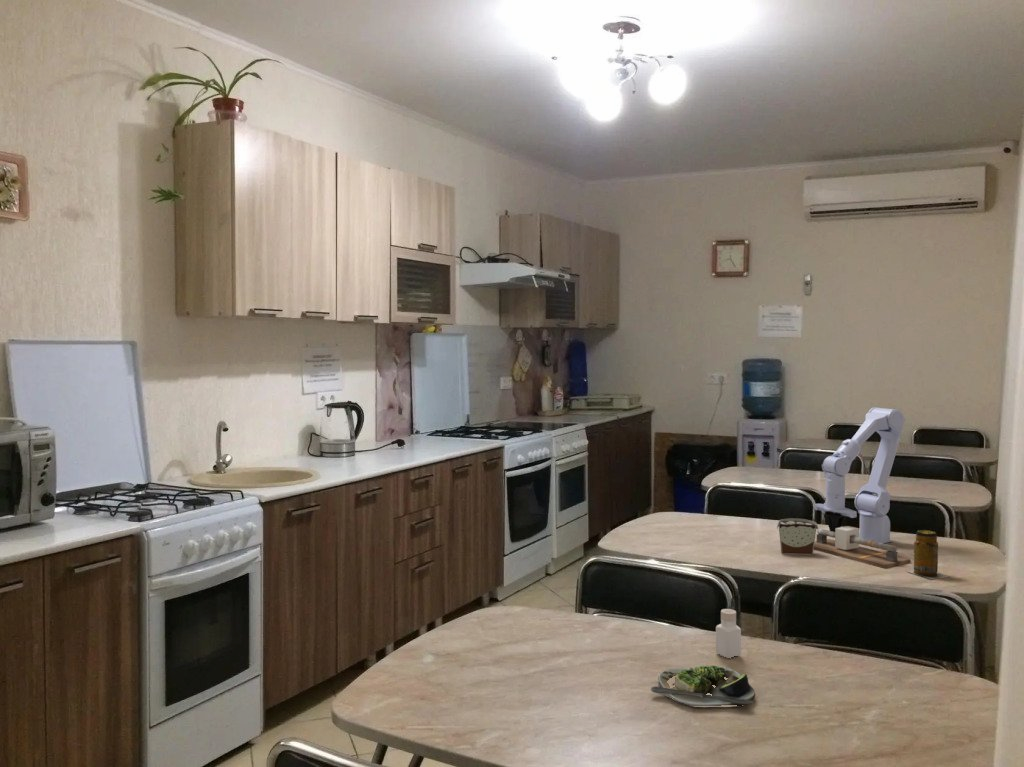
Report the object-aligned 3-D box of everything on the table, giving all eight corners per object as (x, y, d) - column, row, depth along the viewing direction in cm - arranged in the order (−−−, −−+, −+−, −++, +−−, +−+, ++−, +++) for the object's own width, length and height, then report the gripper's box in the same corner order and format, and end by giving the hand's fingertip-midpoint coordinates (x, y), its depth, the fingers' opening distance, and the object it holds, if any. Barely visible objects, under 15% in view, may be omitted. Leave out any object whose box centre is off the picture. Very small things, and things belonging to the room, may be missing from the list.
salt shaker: (727, 660, 172) (727, 615, 171) (714, 653, 175) (714, 609, 175) (742, 656, 174) (742, 612, 173) (728, 650, 177) (729, 607, 177)
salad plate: (663, 718, 147) (663, 693, 146) (638, 677, 164) (638, 654, 164) (767, 712, 149) (768, 687, 148) (731, 672, 166) (731, 650, 166)
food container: (813, 549, 260) (813, 518, 259) (817, 554, 254) (818, 522, 253) (772, 548, 261) (773, 517, 261) (776, 553, 255) (777, 522, 254)
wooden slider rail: (828, 541, 269) (829, 525, 269) (910, 562, 244) (910, 544, 244) (803, 546, 263) (804, 529, 263) (884, 568, 238) (885, 549, 238)
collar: (847, 544, 260) (848, 525, 259) (858, 547, 256) (859, 528, 256) (835, 547, 257) (835, 528, 256) (846, 550, 253) (846, 530, 253)
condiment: (925, 569, 237) (926, 528, 237) (950, 577, 229) (951, 534, 229) (905, 571, 235) (906, 530, 234) (930, 580, 227) (931, 537, 226)
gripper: (808, 491, 267) (807, 532, 267) (846, 499, 254) (845, 542, 255) (822, 489, 270) (822, 530, 271) (861, 496, 258) (860, 539, 258)
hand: (834, 535), depth 263 cm, fingers closed
